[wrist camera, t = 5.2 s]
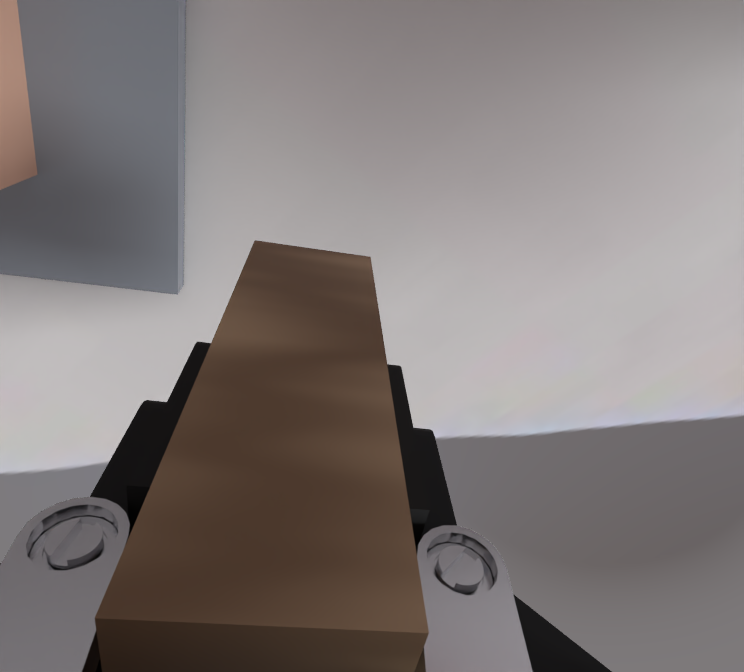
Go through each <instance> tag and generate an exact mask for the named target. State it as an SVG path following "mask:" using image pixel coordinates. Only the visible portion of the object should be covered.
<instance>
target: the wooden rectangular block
mask: <svg viewBox="0 0 744 672" xmlns="http://www.w3.org/2000/svg"><path fill="white" fill-rule="evenodd" d="M95 625H96V632H97V639H98V646H99V653H100V660H101V667H102V672H414V671H415V669H416V666H417V663H418V661H419V658H420V655H421V653H422V650H423V647H424V645H425V642H426V640H427V637H428V634H429V631H428V624H427V618H426V611H425V605H424V598H423V592H422V586H421V579H420V573H419V566H418V560H417V553H416V547H415V541H414V534H413V528H412V521H411V515H410V508H409V502H408V496H407V489H406V483H405V476H404V470H403V463H402V457H401V450H400V444H399V438H398V431H397V425H396V418H395V412H394V405H393V399H392V393H391V386H390V380H389V373H388V367H387V360H386V354H385V348H384V341H383V335H382V328H381V322H380V315H379V309H378V302H377V296H376V290H375V283H374V277H373V270H372V264H371V257H367V256H360V255H353V254H346V253H339V252H332V251H325V250H318V249H311V248H304V247H297V246H290V245H283V244H276V243H269V242H262V241H254V244H253V246H252V248H251V251H250V253H249V256H248V258H247V260H246V263H245V265H244V267H243V270H242V272H241V274H240V277H239V279H238V281H237V284H236V286H235V289H234V291H233V293H232V296H231V298H230V300H229V303H228V305H227V307H226V310H225V312H224V314H223V317H222V319H221V322H220V324H219V326H218V329H217V331H216V333H215V336H214V338H213V340H212V343H211V345H210V347H209V350H208V352H207V354H206V357H205V359H204V362H203V364H202V366H201V369H200V371H199V373H198V376H197V378H196V380H195V383H194V385H193V387H192V390H191V392H190V395H189V397H188V399H187V402H186V404H185V406H184V409H183V411H182V413H181V416H180V418H179V420H178V423H177V425H176V427H175V430H174V432H173V435H172V437H171V439H170V442H169V444H168V446H167V449H166V451H165V453H164V456H163V458H162V460H161V463H160V465H159V468H158V470H157V472H156V475H155V477H154V479H153V482H152V484H151V486H150V489H149V491H148V493H147V496H146V498H145V500H144V503H143V505H142V508H141V510H140V512H139V515H138V517H137V519H136V522H135V524H134V526H133V529H132V531H131V533H130V536H129V538H128V541H127V543H126V545H125V548H124V550H123V552H122V555H121V557H120V559H119V562H118V564H117V566H116V569H115V571H114V573H113V576H112V578H111V581H110V583H109V585H108V588H107V590H106V592H105V595H104V597H103V599H102V602H101V604H100V606H99V609H98V611H97V614H96V616H95Z"/></svg>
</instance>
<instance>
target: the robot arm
mask: <svg viewBox="0 0 744 672" xmlns="http://www.w3.org/2000/svg"><path fill="white" fill-rule="evenodd" d="M210 345H211V343H204V342H197V343H196V344H195V346H194V348H193V350H192V352H191V354H190V356H189V358H188V360H187V362H186V364H185V366H184V368H183V371H182V373H181V375H180V377H179V379H178V381H177V383H176V385H175V387H174V389H173V391H172V393H171V395H170V397H169V399H168V401H167V402H159V401H150V400H146V401H144V402H143V403H142V405H141V406H140V408H139V410H138V411H137V413H136V415H135V417H134V419H133V420H132V422H131V424H130V426H129V428H128V429H127V431H126V433H125V435H124V436H123V438H122V440H121V442H120V444H119V445H118V447H117V449H116V451H115V453H114V454H113V456H112V458H111V460H110V462H109V463H108V465H107V467H106V469H105V471H104V472H103V474H102V476H101V478H100V480H99V482H98V483H97V485H96V487H95V489H94V490H93V492H92V494H91V496H90V497H84V498H74V499H70V500H66V501H63V502H59V503H56V504H54V505H53V506H50V507H49V508H46V509H44V510H43V511H41V512H39V513H38V514H37V515H36V516H34V517H33V518H32V519H30V520H29V521H28V522H27V523H26V524H25V526H24V527H23V528H22V529H21V531H20V532H19V533H18V535H17V536H16V538H15V540H14V542H13V543H12V545H11V547H10V548H9V550H8V552H7V554H6V556H5V557H4V559H3V561H2V563H0V672H102V667H101V660H100V653H99V646H98V639H97V632H96V625H95V616H96V614H97V611H98V609H99V606H100V604H101V602H102V599H103V597H104V595H105V592H106V590H107V588H108V585H109V583H110V581H111V578H112V576H113V573H114V571H115V569H116V566H117V564H118V562H119V559H120V557H121V555H122V552H123V550H124V548H125V545H126V543H127V541H128V538H129V536H130V533H131V531H132V529H133V526H134V524H135V522H136V519H137V517H138V515H139V512H140V510H141V508H142V505H143V503H144V500H145V498H146V496H147V493H148V491H149V489H150V486H151V484H152V482H153V479H154V477H155V475H156V472H157V470H158V468H159V465H160V463H161V460H162V458H163V456H164V453H165V451H166V449H167V446H168V444H169V442H170V439H171V437H172V435H173V432H174V430H175V427H176V425H177V423H178V420H179V418H180V416H181V413H182V411H183V409H184V406H185V404H186V402H187V399H188V397H189V395H190V392H191V390H192V387H193V385H194V383H195V380H196V378H197V376H198V373H199V371H200V369H201V366H202V364H203V362H204V359H205V357H206V354H207V352H208V350H209V347H210ZM387 367H388V373H389V380H390V386H391V393H392V399H393V405H394V412H395V418H396V425H397V431H398V438H399V444H400V450H401V457H402V463H403V470H404V476H405V483H406V489H407V496H408V502H409V508H410V515H411V521H412V528H413V534H414V541H415V547H416V553H417V560H418V566H419V573H420V579H421V586H422V592H423V598H424V605H425V611H426V618H427V624H428V631H429V634H428V637H427V640H426V642H425V645H424V647H423V650H422V653H421V655H420V658H419V661H418V663H417V666H416V669H415V671H414V672H611V671H610V670H609V669H608V668H606V667H605V666H604V665H603V664H601V663H600V662H599V661H597V660H596V659H595V658H594V657H592V656H591V655H590V654H589V653H587V652H586V651H585V650H583V649H582V648H581V647H580V646H578V645H577V644H576V643H575V642H573V641H572V640H571V639H569V638H568V637H567V636H566V635H564V634H563V633H562V632H560V631H559V630H558V629H557V628H555V627H554V626H553V625H552V624H550V623H549V622H548V621H547V620H545V619H544V618H543V617H542V616H540V615H539V614H538V613H536V612H535V611H534V610H533V609H531V608H530V607H529V606H528V605H526V604H525V603H524V602H522V601H521V600H520V599H518V598H517V597H516V596H515V595H514V594H513V591H512V588H511V584H510V580H509V576H508V572H507V568H506V565H505V563H504V561H503V558H502V556H501V555H500V553H499V552H498V551H497V549H496V548H495V547H494V546H493V544H492V543H490V542H489V541H488V540H487V539H486V538H484V537H483V536H482V535H480V534H478V533H476V532H474V531H472V530H470V529H467V528H464V527H460V526H457V524H456V520H455V516H454V512H453V508H452V504H451V500H450V496H449V492H448V488H447V484H446V480H445V476H444V472H443V468H442V464H441V460H440V456H439V452H438V448H437V444H436V440H435V436H434V434H433V431H432V430H430V429H420V428H413V424H412V419H411V414H410V409H409V404H408V399H407V394H406V389H405V384H404V379H403V374H402V369H401V366H396V365H388V364H387Z"/></svg>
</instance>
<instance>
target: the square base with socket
mask: <svg viewBox="0 0 744 672" xmlns="http://www.w3.org/2000/svg"><path fill="white" fill-rule="evenodd" d="M185 41H186V0H0V274H6V275H15V276H23V277H32V278H41V279H49V280H58V281H66V282H75V283H83V284H92V285H100V286H109V287H118V288H126V289H135V290H143V291H152V292H160V293H169V294H177V295H178V293H179V292H180V290H181V288H182V287H183V285H184V169H185Z"/></svg>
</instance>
